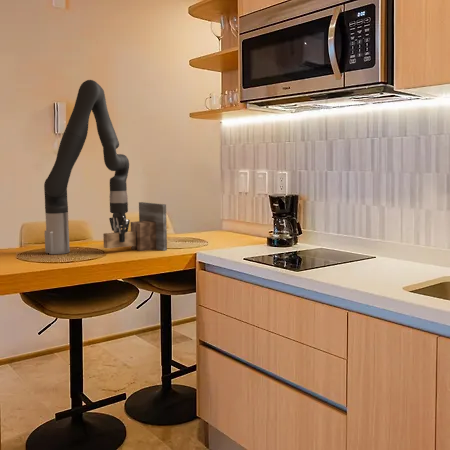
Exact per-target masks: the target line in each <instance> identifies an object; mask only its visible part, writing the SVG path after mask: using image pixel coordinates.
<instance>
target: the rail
mask: <svg viewBox="0 0 450 450" xmlns="http://www.w3.org/2000/svg"><path fill="white" fill-rule="evenodd" d="M119 234H120V233H119V232H117V233H114V232H108V233H107V232H105V233H103V234H102V235H103V236H102V237H103V248H104V249H115V248H125V247H126V248H128V247H131V246H136V245H137V231H131V230H130V231H129V230H128V232H126V233H125V242H120V240H119Z"/></svg>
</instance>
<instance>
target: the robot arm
mask: <svg viewBox="0 0 450 450" xmlns="http://www.w3.org/2000/svg"><path fill="white" fill-rule="evenodd" d="M73 106H74V107H73V109H72V112H71V114H70V116H69V120H68V123H66V126H65V129H64V131H63V134H62V136H61V139H60V142H59V146H58V148H57V154H56V159H55V162H54V164H53V167H52V169H51V170H50V173H49V174H48V176H47V178H46V179H45V181H44V185H43V189H44V190H43V191H44V210H45V213H44V214H45V230H44V246H45V247H44V248H45V249H44V252H45V254H48V253H49V254H48V255H64V254H68V253H70V249H71V248H70V229H69V206H68V203H69V202H68V185H69V181H70V177H71V175H72V174H71V173H72V171H73V168H74V165H75V163H76V162H77V160H78V159H79V157H80V154H81V152H82V151H83V148H84V146H85V143H86V140H87V137H88V131H89V122H90V116H91V112H92V113H93V117H94V119H95V124H96V130H97V135H98V137H99V140H100V144H101V146H102V152H103V160H104V161H103V162H104V165H105V166H106V168H107V169H108V170H109V171H111V172H114V175H113V176H112V177H110V178H109V212H110V213H111V214H112V217H109V218H108V219H109V224H110V227H111V231H113V233H117V232H119V233H120V234H119V240H120V242H125V233H126V232H129V227H130V223H131V219H128V218H127V216H126V214H127V213H128V212H129V202H128V197H129V196H128V191H127V190H128V189H127V179H128V175H129V170H130V161H129V158H128V157H127V155H125V154H123V153H117V149H118V148H119V147H120V142H119V139H118V137H117V133H116V131H115V128H114V126H113V122H112V120H111V117H110V114H109V111H108V105H107V99H106V94H105V91H104V89H103V87H102V86H101V85H100V84H99V83H98V82H97V81H96V80H93V79H87V80H84V81H83V82H82V83H81V84H80V86H79V88H78V91H77V95H76V99H75V102H74V105H73Z"/></svg>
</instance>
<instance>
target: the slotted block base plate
mask: <svg viewBox="0 0 450 450" xmlns="http://www.w3.org/2000/svg"><path fill="white" fill-rule="evenodd" d="M167 228H168V227H167V204H165V203H153V202H146V201H145V202H144V201H141V202H140V201H139V202H138V221H130V231H137V245H136V246H130V249H131V250H134V251H135V250H137V252H138V251H139V252H143V251H144V252H145V251H153V250H159V251H168V238H167V237H168V235H167V234H168V233H167V231H168V230H167Z"/></svg>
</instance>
